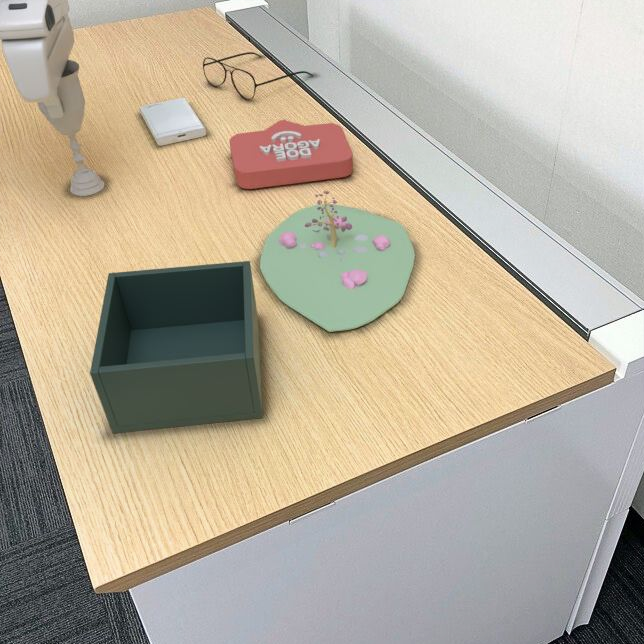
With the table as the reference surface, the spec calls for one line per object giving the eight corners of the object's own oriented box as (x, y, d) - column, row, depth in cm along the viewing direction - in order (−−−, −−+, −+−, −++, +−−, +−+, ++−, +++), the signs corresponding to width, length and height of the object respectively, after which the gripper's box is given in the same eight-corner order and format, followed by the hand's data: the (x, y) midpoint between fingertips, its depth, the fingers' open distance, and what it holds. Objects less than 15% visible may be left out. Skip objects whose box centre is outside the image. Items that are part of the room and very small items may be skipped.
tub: (112, 433, 76) (89, 373, 70) (126, 332, 87) (108, 272, 81) (263, 418, 77) (253, 357, 71) (258, 320, 89) (249, 260, 82)
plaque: (336, 110, 119) (355, 155, 109) (336, 132, 122) (355, 178, 112) (226, 122, 117) (234, 170, 107) (229, 144, 120) (238, 193, 109)
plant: (452, 309, 90) (459, 248, 83) (288, 346, 85) (282, 285, 79) (384, 202, 107) (385, 145, 100) (245, 228, 103) (237, 171, 96)
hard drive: (139, 106, 127) (156, 137, 119) (185, 96, 129) (205, 126, 121) (141, 115, 128) (158, 146, 120) (186, 105, 130) (206, 135, 122)
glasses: (202, 82, 137) (200, 54, 134) (261, 65, 146) (260, 39, 143) (255, 104, 130) (255, 75, 127) (313, 85, 139) (314, 58, 136)
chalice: (113, 172, 114) (81, 57, 102) (110, 196, 109) (77, 77, 97) (64, 177, 113) (27, 61, 101) (59, 201, 108) (19, 82, 96)
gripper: (20, -26, 100) (51, 74, 109) (-15, 31, 85) (24, 140, 95) (68, -29, 100) (94, 71, 110) (41, 27, 85) (74, 137, 95)
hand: (62, 104), depth 102 cm, fingers closed on chalice, 6 cm apart
